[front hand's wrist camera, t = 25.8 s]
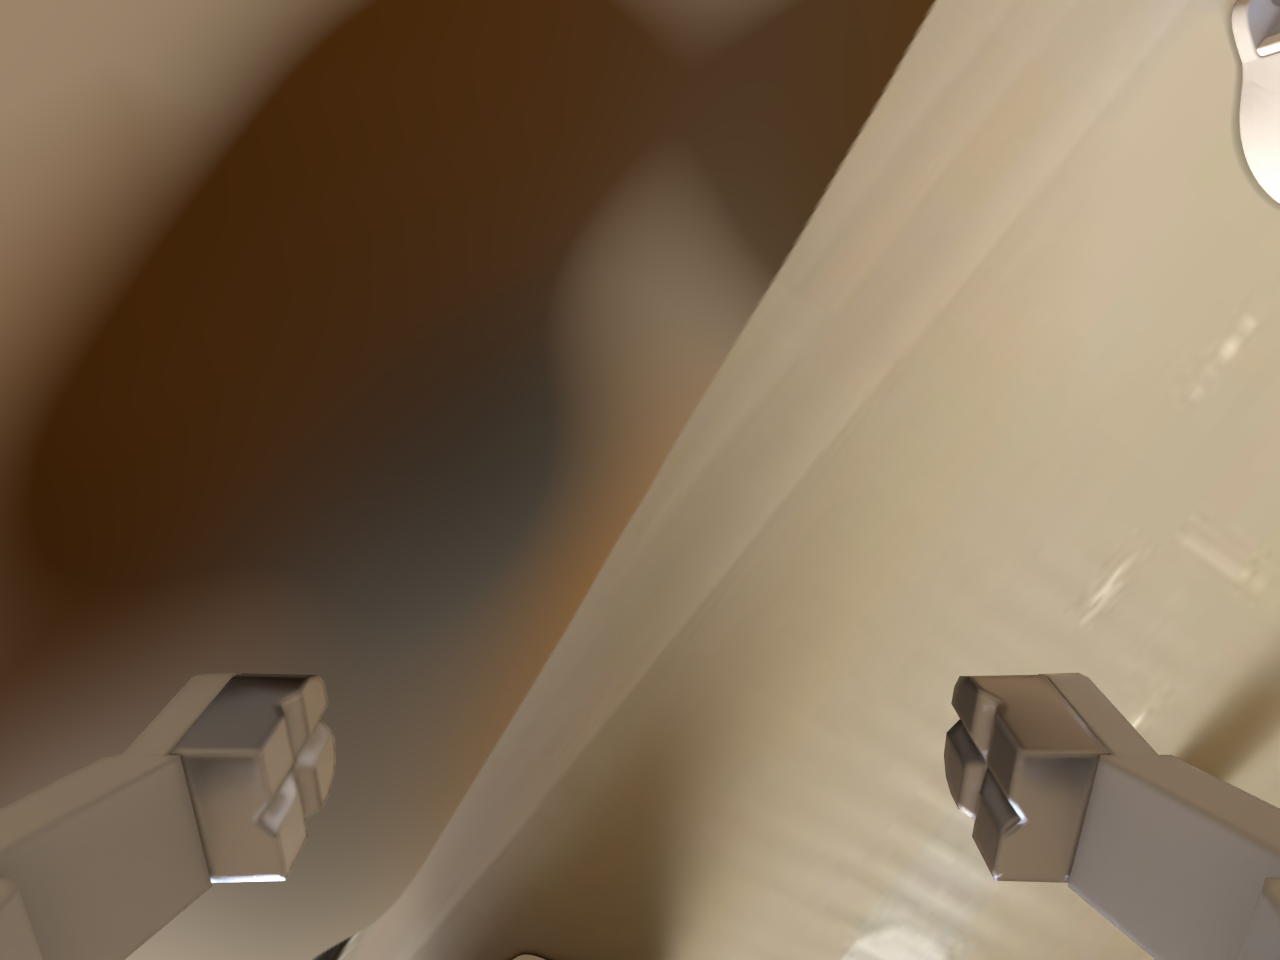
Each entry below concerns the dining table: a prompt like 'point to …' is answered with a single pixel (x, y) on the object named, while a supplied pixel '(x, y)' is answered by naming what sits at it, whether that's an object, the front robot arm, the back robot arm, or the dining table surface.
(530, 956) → the back robot arm
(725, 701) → the dining table surface
